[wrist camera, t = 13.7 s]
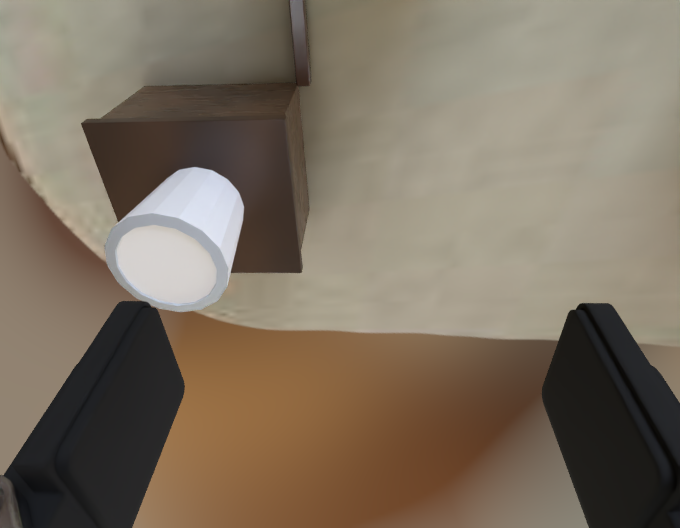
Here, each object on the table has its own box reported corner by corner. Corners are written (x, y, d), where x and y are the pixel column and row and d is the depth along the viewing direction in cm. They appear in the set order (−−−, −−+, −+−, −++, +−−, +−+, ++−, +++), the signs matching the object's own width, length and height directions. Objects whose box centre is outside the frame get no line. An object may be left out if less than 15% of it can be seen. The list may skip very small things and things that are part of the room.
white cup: (246, 158, 29) (217, 216, 23) (258, 248, 33) (236, 315, 27) (139, 156, 29) (85, 212, 23) (164, 246, 33) (123, 311, 28)
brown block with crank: (290, -210, 25) (260, -263, 18) (320, 212, 41) (310, 273, 34) (56, -195, 26) (-63, -240, 19) (174, 213, 42) (134, 273, 35)
